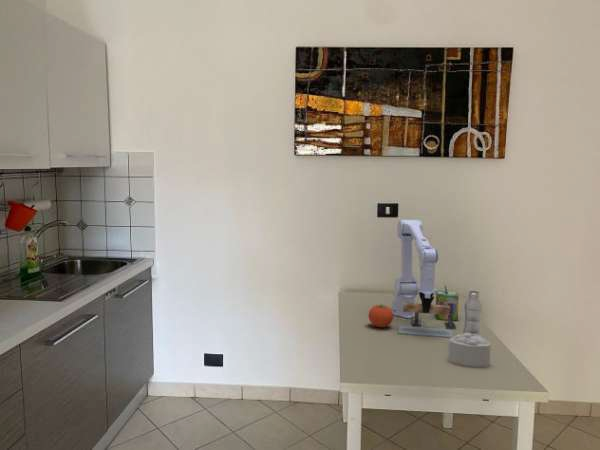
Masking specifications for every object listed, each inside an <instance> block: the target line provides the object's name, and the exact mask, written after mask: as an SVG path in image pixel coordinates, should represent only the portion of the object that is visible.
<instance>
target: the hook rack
mask: <svg viewBox="0 0 600 450" xmlns="http://www.w3.org/2000/svg"><path fill="white" fill-rule="evenodd" d="M413 318H414V319H411V322H410V323H411V327H422V320H419V318H420V313H415V316H414V317H413ZM444 327H445V330H456V329H457V327H456V324H455V322H454V320H453V314H452V311H450V312H449V315H448V320H447V322H445V321H444Z"/></svg>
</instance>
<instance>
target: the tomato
mask: <svg viewBox="0 0 600 450" xmlns="http://www.w3.org/2000/svg"><path fill="white" fill-rule="evenodd" d="M368 319H369V322H370V323H371V324H372V325H373V326H375V327H377V328H386V327H388V326H389V325H390V324H391V323H392V321H393V320H394V315H393V313H392V308H391V309H390V307H388V306H386V305H384V304H376V305H373V307H371V309H369V311H368Z"/></svg>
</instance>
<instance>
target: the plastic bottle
mask: <svg viewBox="0 0 600 450" xmlns="http://www.w3.org/2000/svg"><path fill="white" fill-rule="evenodd" d="M467 296H468V299H466V301H465V303H464V306H463V307H464V326H463V332H462V334H463V333H469V334H471V336H475V335H479V336H481V330H480V324H481V323H480V322H481V314H482V310H483V309H482V308H483V304H482V303H481V301H480V299H479V298H480V292H479V291H476V290H469V291H468V295H467Z"/></svg>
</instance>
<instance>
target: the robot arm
mask: <svg viewBox="0 0 600 450" xmlns="http://www.w3.org/2000/svg"><path fill="white" fill-rule="evenodd" d="M396 227H397V228H396V229H397V232H396V233H397V237H398V238H400V244H401V245H400V247H401V248H400V249H401V250H400V251H401V252H400V253H401V257H400V258H401V274H400V275H398V277H396V278H395V280H394V281H395V283H394V293H395V294H394V295H393V297H392V302H391V311H392V313H393V316H397V317H401V318H406V319H411V318H414V316H415V313H414V312H403V303H415V298H416V296H417V295H418V294H419V299H420V300H421V304H422V307H423V313H422V314H428V313H429V310H430V306H431V305H432V302H433V301H434V300H435V296H434V293H436V292H437V291H438V289H436V288H435V280H436V279H435V276H436V275H435V274H436V264H437V263H438V261H439V253H438V250H437V248H435V247H433V246H432V245H431V243H430V242H429V240H428V238H426V237H425V236H424V234H423V232H422V231H423V227H424V225H423V222H422V221H421V219H403V218H402V219H401V218H400V219H399V220H398V222H397V226H396ZM413 240H414V241H415V242H414V247H415V249H416V251H417V253H418V262H419V264H418V265H419V267H420V271H419V281H418V278H416V277H415V276H414V274H413Z"/></svg>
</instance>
